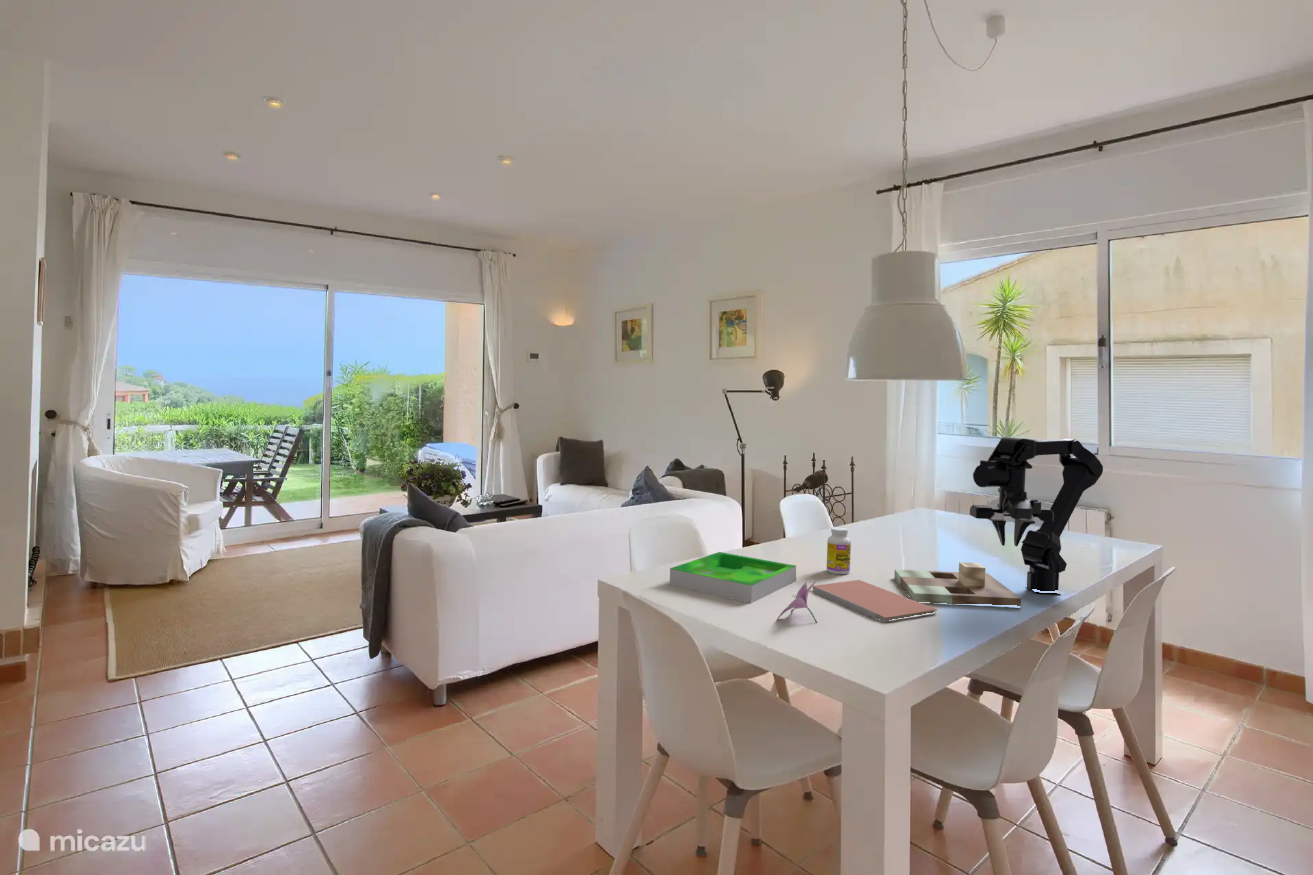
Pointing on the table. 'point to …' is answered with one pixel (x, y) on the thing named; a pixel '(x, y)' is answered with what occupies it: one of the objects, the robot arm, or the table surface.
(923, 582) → the trap deck
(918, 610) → the notebook
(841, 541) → the supplement bottle
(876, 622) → the table surface
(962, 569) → the block
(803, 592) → the lily
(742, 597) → the tray
